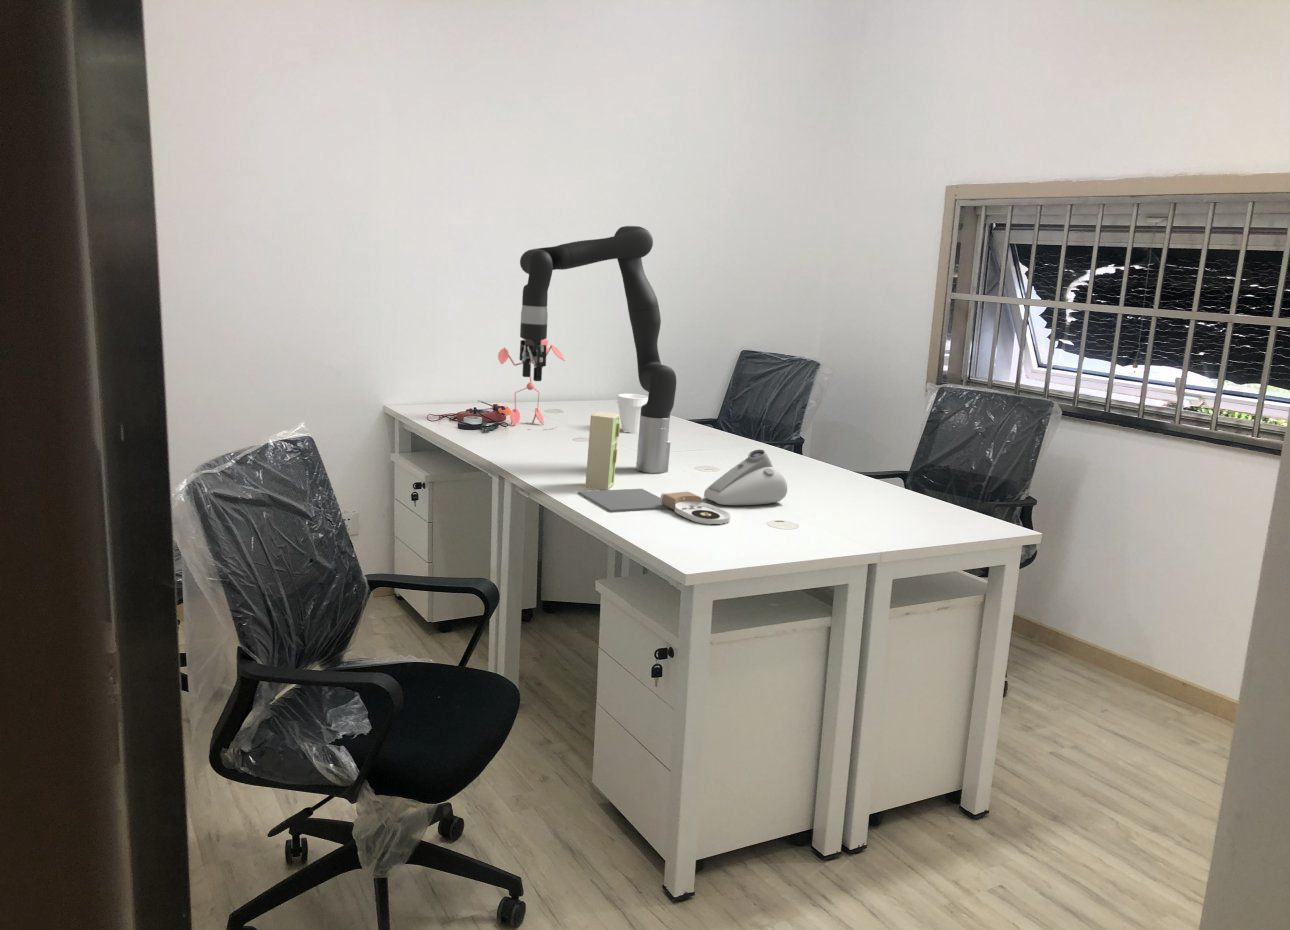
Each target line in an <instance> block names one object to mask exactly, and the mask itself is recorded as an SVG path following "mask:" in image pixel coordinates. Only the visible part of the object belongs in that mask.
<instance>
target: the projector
mask: <svg viewBox="0 0 1290 930" xmlns="http://www.w3.org/2000/svg"><path fill="white" fill-rule="evenodd" d="M787 493H788V483H787V480H786V478H785V477H784V475H783V474H782V473H781V472H780V470H778V469H776V468H775V467H774V466H773V464H772V461H771V460H770V457H769V456H768V454H767V452H766V451H765V450H763V449H759V448H758V449H754V450H752V451H750V452H749V453H748V454H747V458H745V459H744V460H742V461H741V462H739V463H737V465H735V466H734V467H732V468H730V470H728V471H727V472H725V473H724V474H723V475H721V476H720V477H719V478H717V479H716V480H715V481H714V482H712V483H711V484H710V485H709V486H707V488H706V489H705V490H704V493H703V497H704V499H705V500H709V501H712V502H715V503H716V504H717V505H722V506H723V505H724V506H757V505H759V506H760V505H767V504H774V503H779V502H780V501H782V500H783V499H784V498H785V497H786V495H788V494H787Z"/></svg>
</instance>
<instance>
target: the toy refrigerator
mask: <svg viewBox="0 0 1290 930" xmlns="http://www.w3.org/2000/svg"><path fill="white" fill-rule="evenodd" d="M589 423H590V424H589V433H588V435H589V436H588V437H589V439H588V450H587V458H586V459H587V461H586V473H585V474H586V475H585V489H588V490H589V489H591V490H595V491H598V490H611V488H612V487H613V486H614V485H615V473H616V463H617V458H618V457H617V455H618V439H619V438H618V437H619V436H620V430H621V429H620V428H621V422H620V413H614V412H606V411H596V412H594V413H593V414H591V416H590V421H589Z"/></svg>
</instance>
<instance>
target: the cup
mask: <svg viewBox="0 0 1290 930" xmlns="http://www.w3.org/2000/svg"><path fill="white" fill-rule="evenodd" d="M616 400H617V402H616V403H617V405H618V410H619V411H618V412H619V413H618V414H619V420H620V427H621V431H622V430H623V431H626V432H631V433H630V434H639V433H638V432H639V425H640V413H641V407H642V406H643V405H645V404H646V403H647V401H648V395H644V394H637V393H620V394H618V395H617V399H616ZM623 431H622V432H623Z"/></svg>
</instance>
